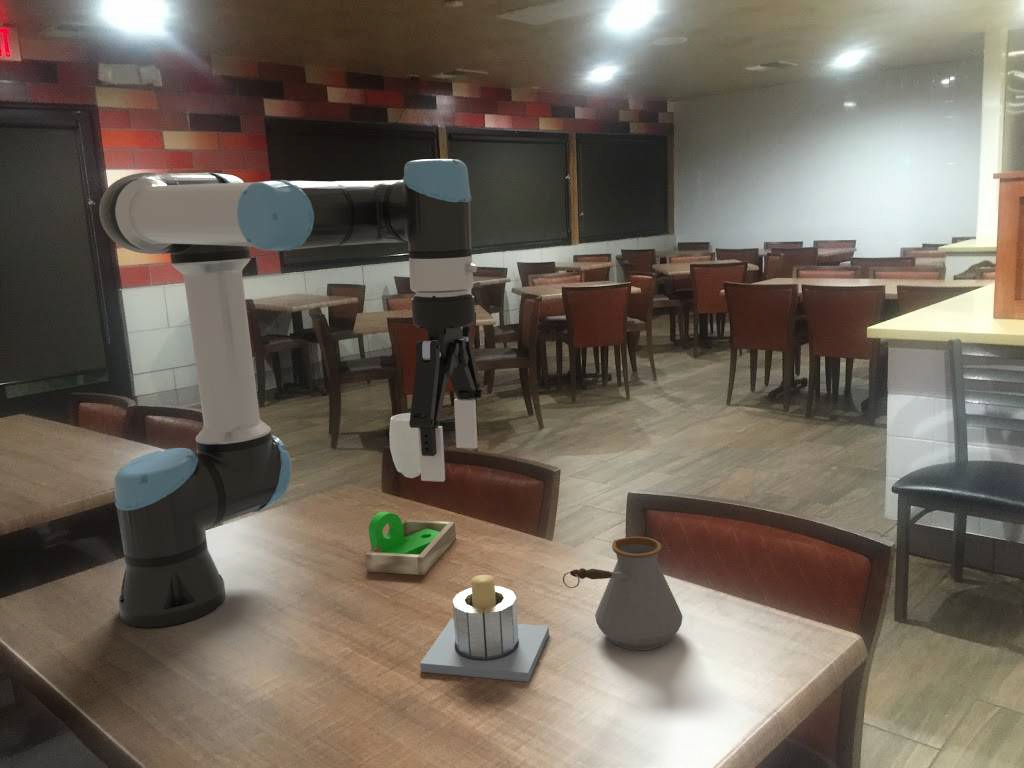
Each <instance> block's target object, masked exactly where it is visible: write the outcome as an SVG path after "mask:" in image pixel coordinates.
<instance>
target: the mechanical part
mask: <svg viewBox="0 0 1024 768" xmlns="http://www.w3.org/2000/svg"><path fill="white" fill-rule="evenodd" d="M368 525H369V526H368V533H369V535H368V536H369V542H370V548H371V549H372V548H373V547H374V546H377V547H378V546H381V553H397V554H415V555H420V554H421V553H422V551H423V550H424V549H425V548H426V547H427V546H428V545H429V544H430V543H431V542H432V540H433V539H434V538H435V537H436V536H437V535H438V534H439V533H440V532H438V531H435V530H431V529H428V528H426V529H424V530H421V531H419V532H416V533H414V534H412V535H409V536H407V537H404V533H403V526H402V519H401V517H400V516H399V515H397V514H396V513H393V512H389V511H379V512H377V513H376V514H375V515H374V516H373V517H372V518H371V520H370V521H369V524H368ZM386 525H388V527H389V528H388V531H387V533H386V534H385V535H384V528H385V526H386ZM371 549H370V550H371Z"/></svg>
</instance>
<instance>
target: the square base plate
mask: <svg viewBox="0 0 1024 768" xmlns="http://www.w3.org/2000/svg"><path fill="white" fill-rule="evenodd" d="M470 584H471V587H470V588H472V602H473V607H475V608H488V607H493V606H496V598H495V586H496V582H495V577H494V576H492V575H489V574H480V575H479V574H478V575H475V576H474V577H472V578H471V580H470ZM549 636H550V626H549V625H548V626H547V625H537V624H525V623H518V642H517V644H516V646H515V648H514V649H512V650H511V651H509V652H507V653H505V654H502V655H499V656H494V657H489V658H487V656H486V658H481V657H471V656H468V655H466V654H464V653H462V652H460V651H459V650H458V648H457V646H456V642H455V628H454V618H450V619H449V621H448V622H447V624H446V626H444V628H443V629H442V631H441V632H440V634H439V635H438V637H437V638H436V639H435V641H434V643H433V644H432V645H431V647H430V648H429V649H428V651H427V653H426V654H425V656H424V657H423V659H422V660H421V661H420V663H419V666H420V667H419V668H420V673H429V674H430V673H431V674H441V675H451V676H463V677H470V678H471V677H473V678H481V679H492V680H493V679H495V680H503V681H514V682H515V681H517V682H523V683H524V682H525V683H528V682H530V679H531V677H532V675H533V672H534V670H535V668H536V665H537V663H538V661H539V658H540V656H541V654H542V653H543V650H544V647H545V645H546V643H547V640H548V639H549V638H548V637H549Z"/></svg>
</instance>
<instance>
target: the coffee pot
mask: <svg viewBox="0 0 1024 768" xmlns="http://www.w3.org/2000/svg"><path fill="white" fill-rule="evenodd" d="M611 544H612V545H611V548H612V551H613V552H614V553H615V554H616V558H617V559H616V560H617V562H616V563H615V566H614V567H613V571H609V570H603V569H597V568H589V569H586V568H584V567H581V568H579V569H577V568H576V569H573V570H571V571H569V572H566V573H564V574H563V577H562V582H563V584H564V586H565V587H567V588H568V589H574V588H577V587H578V586H579V585H580V582H581V580H584V579H586V578H587V579H590V580H602V579H603V580H605V579H609V581H608V583H607V585H606V588H605V590H604V592H603V595H602V597H601V599H600V602H599V604H598V607H597V609H596V611H595V615H594V617H595V621H596V625H597V626H598V628H599V629H600V631H601V633H602V634H604V635H605V636H606V637H607V638H608V639H610V640H611V641H612V643H613V644H615V645H617V646H618V647H621V648H623V649H627V650H633V651H649V650H654V649H657V648H659V647H662V646H663V645H665V644H666V643H667V642H668V641H670V639H672V638H673V637H674V636H675V635H676V634H677V632H678V631H680V628H681V626H682V624H683V623H682V622H683V618H684V617H683V614H682V612H681V609H680V606H679V605H678V603H677V600H676V599H675V596H674V594H673V591H672V590H671V587H670V585H669V582H668V581H667V579H666V577H665V575H664V573H663V571H662V569H661V566H660V565H659V562H658V556H659V553H660V552H661V551H662V549H663V547H662V544H661V542H659V541H658V540H656V539H654V538H651V537H646V536H629V537H623V538H618V539H615V540H613V542H612V543H611ZM568 574H570V576H571V577H572V576H573V577H575V578H577V584H576V585H574V586H569V585H567V583H566V582H565V578H566V575H568ZM580 579H581V580H580Z"/></svg>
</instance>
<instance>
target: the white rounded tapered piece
mask: <svg viewBox="0 0 1024 768" xmlns="http://www.w3.org/2000/svg"><path fill="white" fill-rule="evenodd" d="M410 414H411V412H406V413H400V414H399V413H398V414H396V415H392V416H391V417H390V421H389V433H388V434H389V450H390V453H391V457H392V461H393V463H394V466H395V469H396V471H397V472H398V473H401V474H402V475H403V476H404V477H405V478H408V479H414V478H416V477H419V476H421V468H420V450H419V433H418V428H411V427H410V425H409V421H410Z"/></svg>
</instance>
